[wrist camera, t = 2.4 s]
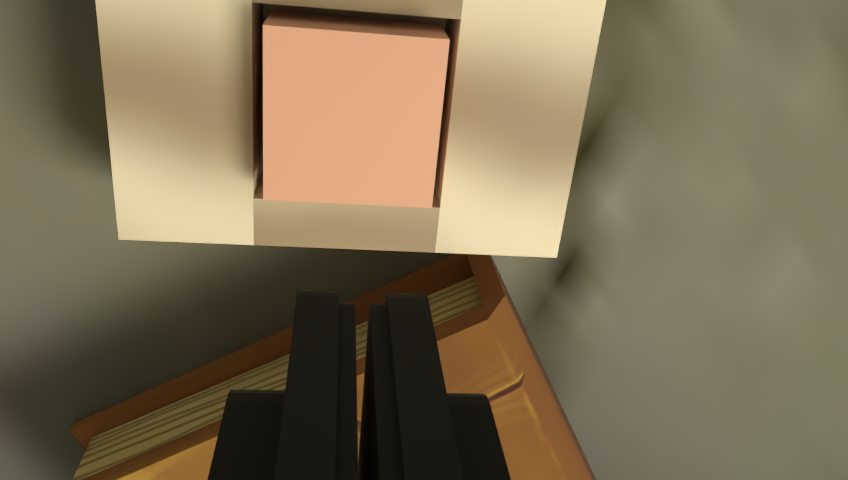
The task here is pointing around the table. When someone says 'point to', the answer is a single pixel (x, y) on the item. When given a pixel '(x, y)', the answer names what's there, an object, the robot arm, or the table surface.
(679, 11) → the table surface
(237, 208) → the beige flat block
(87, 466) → the diary
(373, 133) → the key terracotta
